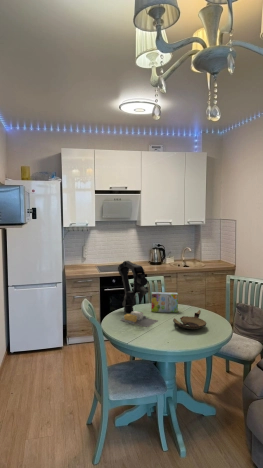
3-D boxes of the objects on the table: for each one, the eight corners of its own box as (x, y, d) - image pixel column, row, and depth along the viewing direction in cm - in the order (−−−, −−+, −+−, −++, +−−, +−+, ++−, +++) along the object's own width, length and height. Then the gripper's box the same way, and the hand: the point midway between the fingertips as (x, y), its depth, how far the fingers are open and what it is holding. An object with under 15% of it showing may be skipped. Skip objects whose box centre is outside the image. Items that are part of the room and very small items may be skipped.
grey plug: (140, 319, 230) (140, 314, 230) (129, 317, 235) (129, 311, 235) (143, 318, 233) (143, 312, 233) (132, 315, 239) (132, 310, 238)
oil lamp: (165, 326, 220) (165, 315, 220) (195, 318, 238) (195, 308, 237) (188, 336, 202) (189, 325, 202) (219, 327, 220) (219, 316, 219)
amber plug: (133, 322, 223) (133, 317, 223) (123, 320, 228) (123, 314, 228) (136, 321, 226) (136, 315, 226) (126, 318, 232) (126, 313, 231)
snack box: (177, 310, 256) (177, 292, 255) (177, 312, 251) (178, 294, 250) (151, 309, 258) (151, 291, 257) (151, 311, 253) (151, 293, 252)
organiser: (120, 322, 228) (120, 318, 228) (132, 316, 241) (132, 313, 241) (147, 329, 215) (147, 325, 214) (158, 322, 228) (158, 319, 227)
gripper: (136, 286, 220) (136, 308, 221) (154, 282, 234) (153, 303, 235) (125, 284, 228) (125, 305, 229) (143, 280, 241) (142, 300, 242)
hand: (137, 303), depth 234 cm, fingers open, 6 cm apart
